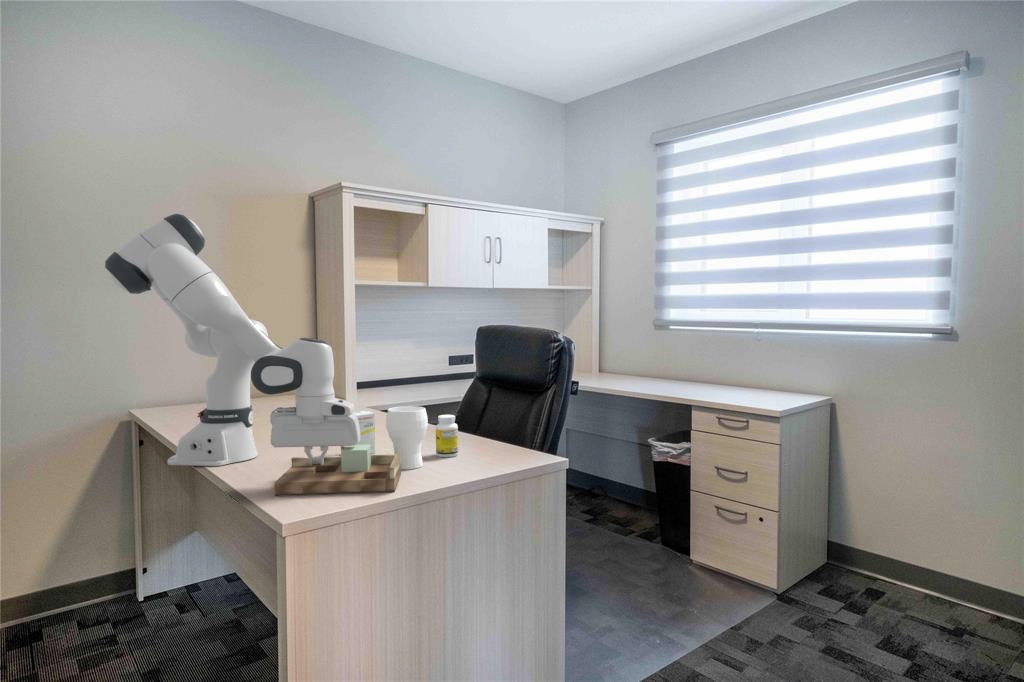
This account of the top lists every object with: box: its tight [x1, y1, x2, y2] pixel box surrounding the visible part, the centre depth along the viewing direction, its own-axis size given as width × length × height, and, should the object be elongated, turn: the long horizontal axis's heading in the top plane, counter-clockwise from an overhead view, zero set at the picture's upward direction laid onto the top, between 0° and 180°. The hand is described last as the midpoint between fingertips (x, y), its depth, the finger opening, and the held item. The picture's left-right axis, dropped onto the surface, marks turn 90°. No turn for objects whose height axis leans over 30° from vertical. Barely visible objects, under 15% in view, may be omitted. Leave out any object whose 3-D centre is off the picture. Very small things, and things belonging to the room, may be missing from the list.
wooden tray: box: [273, 453, 402, 497], centre depth 143 cm, size 26×15×6 cm, turn 95°
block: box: [340, 444, 372, 472], centre depth 146 cm, size 6×6×5 cm
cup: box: [385, 405, 429, 470], centre depth 160 cm, size 11×11×15 cm
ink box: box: [340, 410, 377, 455], centre depth 173 cm, size 9×5×12 cm, turn 131°
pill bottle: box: [435, 414, 459, 458], centre depth 172 cm, size 6×6×11 cm
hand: (316, 464), depth 146 cm, fingers closed
